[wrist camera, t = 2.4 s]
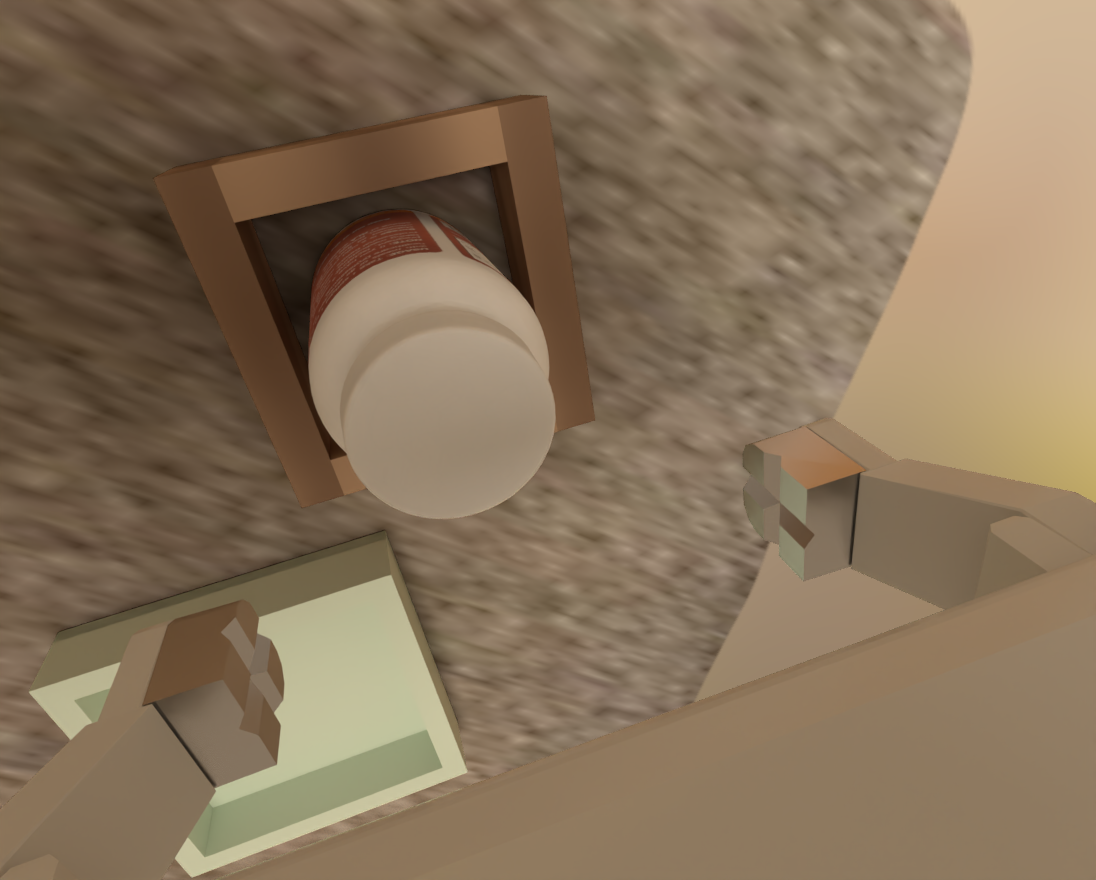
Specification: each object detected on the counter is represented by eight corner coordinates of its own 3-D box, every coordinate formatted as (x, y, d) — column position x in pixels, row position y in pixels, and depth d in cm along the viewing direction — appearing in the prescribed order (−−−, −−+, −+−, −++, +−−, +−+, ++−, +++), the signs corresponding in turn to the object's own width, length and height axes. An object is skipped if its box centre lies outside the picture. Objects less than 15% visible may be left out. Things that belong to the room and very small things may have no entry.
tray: (202, 815, 32) (191, 877, 30) (58, 632, 26) (28, 691, 23) (457, 721, 34) (467, 772, 32) (385, 530, 28) (391, 574, 25)
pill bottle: (305, 366, 24) (290, 547, 14) (318, 188, 21) (311, 266, 12) (472, 383, 26) (554, 551, 16) (502, 224, 23) (619, 314, 14)
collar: (304, 466, 25) (301, 508, 23) (175, 166, 20) (152, 178, 17) (570, 389, 27) (595, 420, 25) (520, 95, 22) (546, 95, 19)
